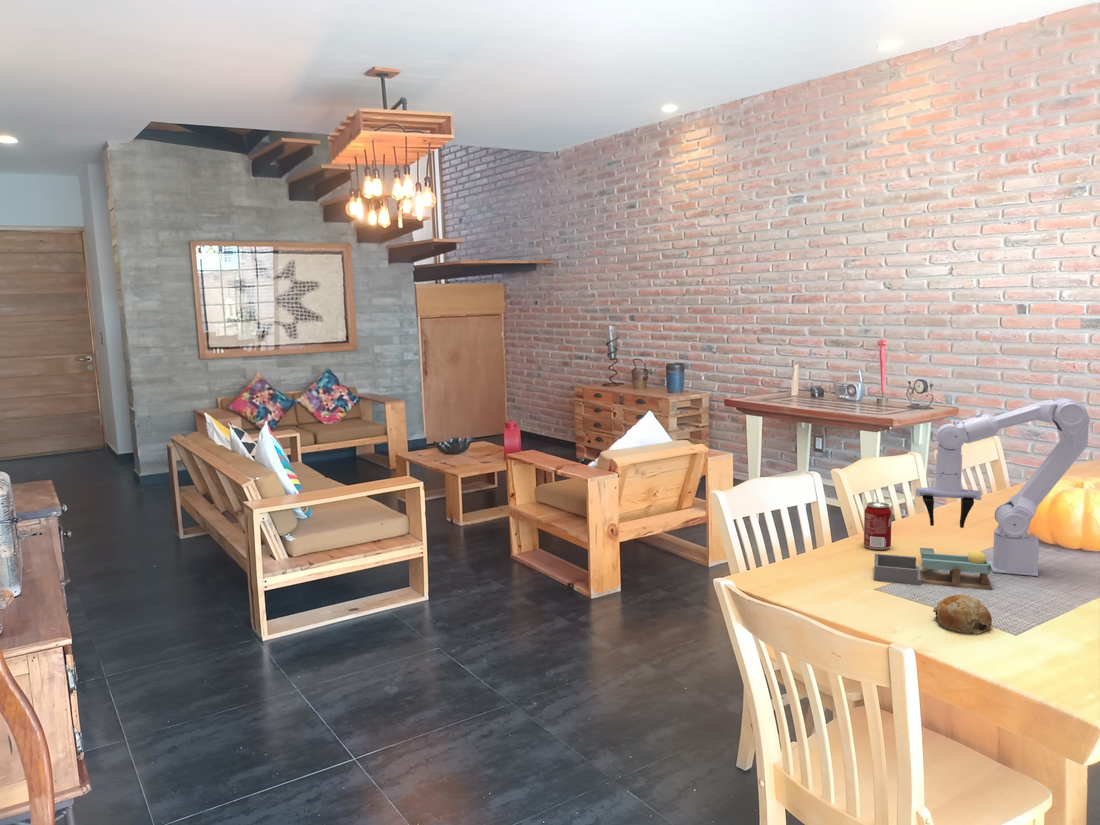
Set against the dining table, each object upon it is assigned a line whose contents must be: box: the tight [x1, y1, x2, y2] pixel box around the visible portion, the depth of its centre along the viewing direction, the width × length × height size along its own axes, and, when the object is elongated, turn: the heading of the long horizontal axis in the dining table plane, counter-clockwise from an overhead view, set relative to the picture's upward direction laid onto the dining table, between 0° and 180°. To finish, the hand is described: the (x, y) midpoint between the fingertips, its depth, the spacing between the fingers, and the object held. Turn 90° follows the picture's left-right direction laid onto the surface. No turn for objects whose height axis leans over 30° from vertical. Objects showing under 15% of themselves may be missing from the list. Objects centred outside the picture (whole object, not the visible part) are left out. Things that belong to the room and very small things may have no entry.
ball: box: [967, 549, 986, 564], centre depth 183 cm, size 4×4×4 cm
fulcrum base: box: [920, 568, 993, 591], centre depth 185 cm, size 15×8×4 cm, turn 67°
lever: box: [919, 547, 992, 575], centre depth 189 cm, size 14×14×2 cm
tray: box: [873, 553, 922, 586], centre depth 190 cm, size 10×11×4 cm
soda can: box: [863, 501, 893, 551], centre depth 213 cm, size 7×7×12 cm
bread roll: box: [932, 594, 993, 635], centre depth 160 cm, size 10×10×8 cm
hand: (946, 525), depth 197 cm, fingers open, 6 cm apart
